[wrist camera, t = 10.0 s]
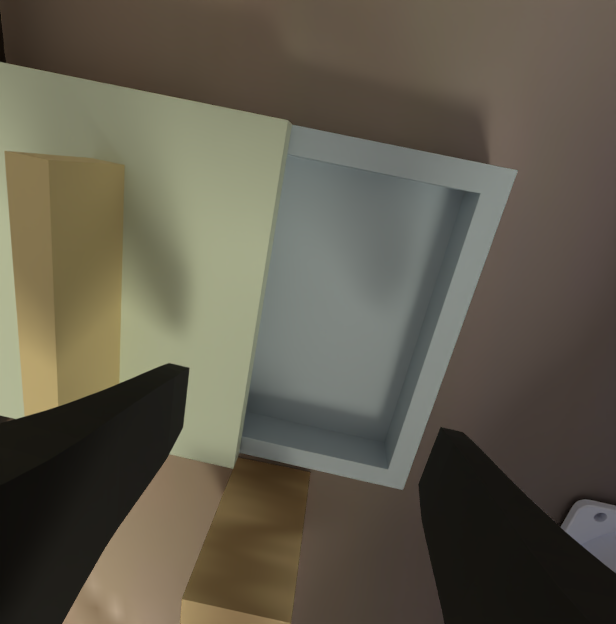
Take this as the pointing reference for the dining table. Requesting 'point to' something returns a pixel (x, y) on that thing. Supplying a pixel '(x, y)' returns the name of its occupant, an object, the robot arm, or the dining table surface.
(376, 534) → the dining table surface
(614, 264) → the dining table surface
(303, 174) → the shallow grey tray
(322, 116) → the dining table surface
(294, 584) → the wooden block
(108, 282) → the lid
